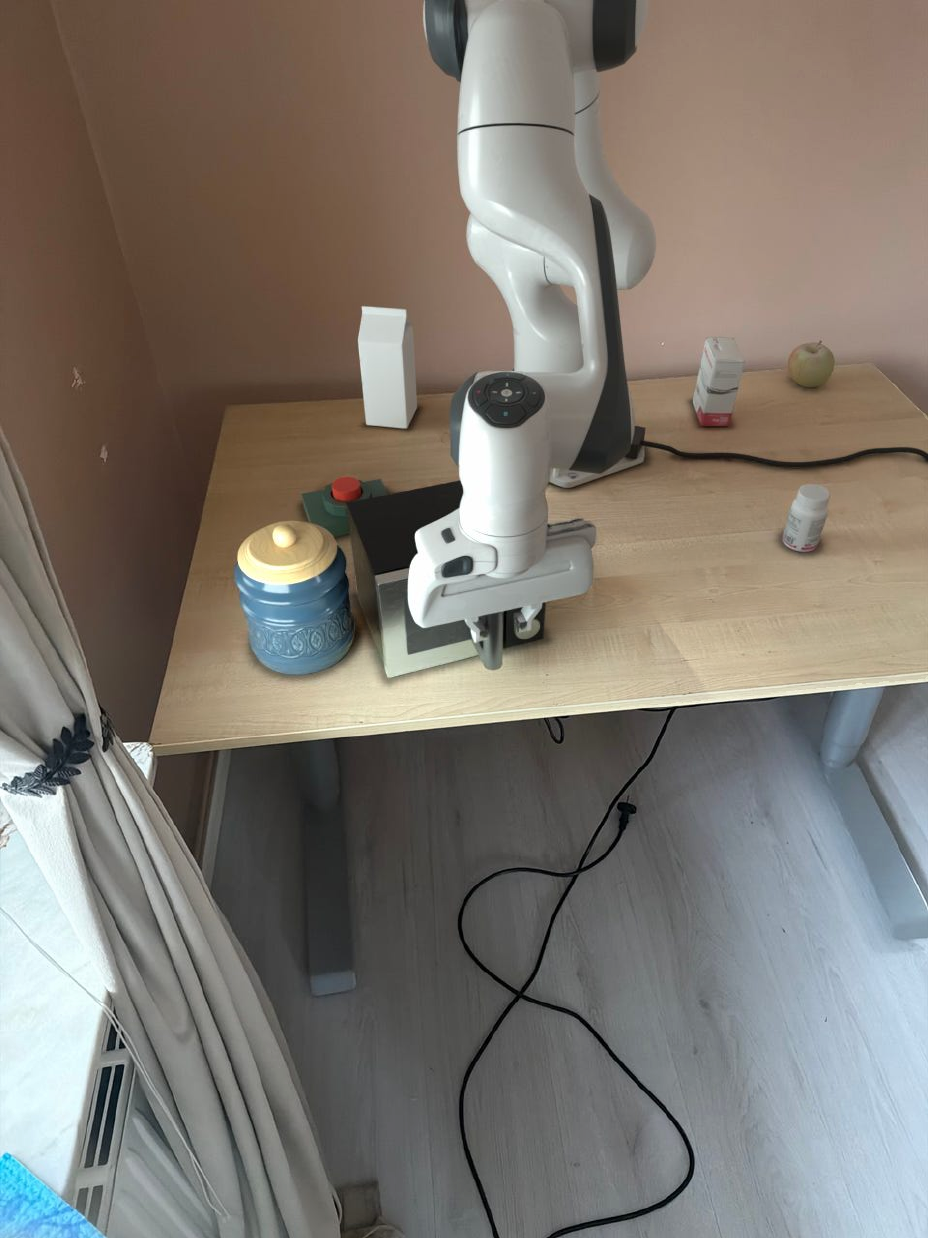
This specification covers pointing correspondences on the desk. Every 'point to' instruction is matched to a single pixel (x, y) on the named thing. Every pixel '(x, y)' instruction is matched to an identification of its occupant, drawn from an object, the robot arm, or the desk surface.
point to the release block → (336, 506)
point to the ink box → (718, 381)
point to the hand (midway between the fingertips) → (500, 632)
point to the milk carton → (387, 366)
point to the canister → (295, 597)
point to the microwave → (407, 548)
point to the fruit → (811, 364)
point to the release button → (346, 489)
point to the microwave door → (428, 633)
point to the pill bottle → (807, 518)
